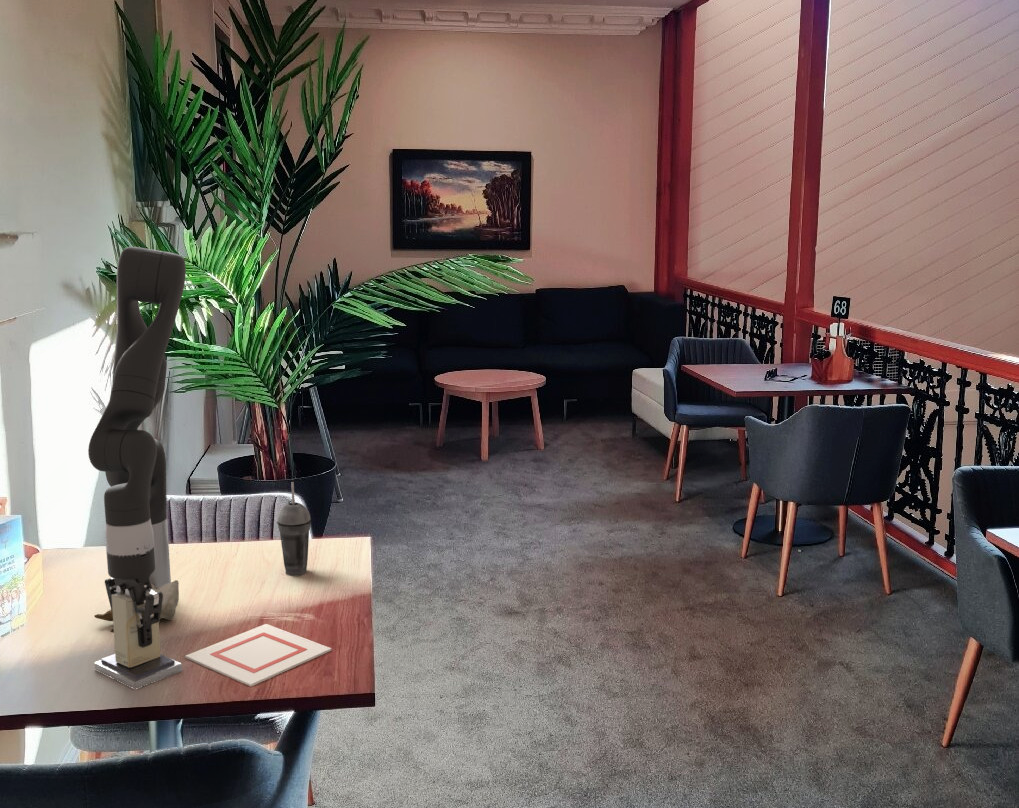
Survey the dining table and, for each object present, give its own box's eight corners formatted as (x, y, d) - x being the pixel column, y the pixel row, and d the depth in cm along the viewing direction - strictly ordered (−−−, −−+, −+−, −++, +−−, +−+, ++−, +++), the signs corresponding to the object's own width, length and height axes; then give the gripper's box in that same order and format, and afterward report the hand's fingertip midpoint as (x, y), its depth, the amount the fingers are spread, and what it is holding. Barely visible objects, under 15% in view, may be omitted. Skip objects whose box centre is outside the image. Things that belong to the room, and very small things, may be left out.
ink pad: (94, 670, 176) (94, 659, 176) (141, 652, 184) (140, 642, 183) (135, 690, 169) (134, 678, 169) (181, 670, 176) (181, 660, 176)
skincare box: (129, 669, 172) (124, 600, 170) (114, 662, 175) (109, 594, 173) (162, 656, 177) (158, 589, 175) (147, 649, 180) (142, 583, 178)
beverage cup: (279, 579, 220) (276, 488, 216) (278, 568, 227) (274, 480, 223) (314, 576, 222) (311, 486, 218) (311, 565, 229) (308, 478, 225)
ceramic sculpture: (187, 579, 195) (107, 602, 186) (192, 622, 197) (113, 647, 188) (166, 565, 203) (88, 586, 194) (172, 606, 205) (95, 629, 196)
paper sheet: (185, 657, 181) (185, 655, 181) (266, 625, 195) (266, 623, 195) (250, 686, 171) (250, 683, 171) (331, 650, 185) (331, 647, 185)
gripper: (86, 543, 174) (93, 638, 177) (134, 561, 165) (142, 660, 168) (125, 532, 179) (132, 625, 183) (174, 548, 171) (181, 645, 174)
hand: (137, 641), depth 176 cm, fingers closed on skincare box, 4 cm apart
